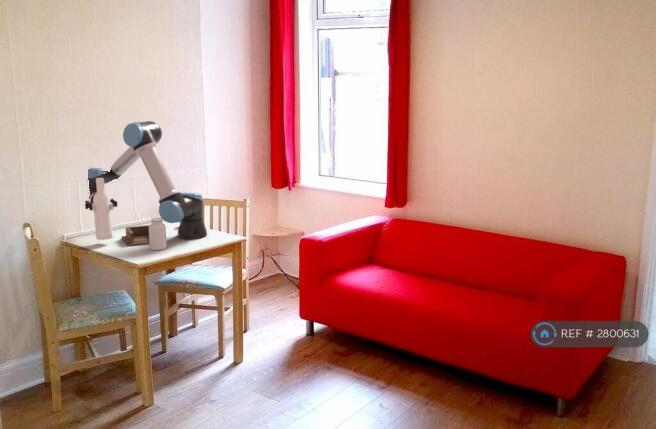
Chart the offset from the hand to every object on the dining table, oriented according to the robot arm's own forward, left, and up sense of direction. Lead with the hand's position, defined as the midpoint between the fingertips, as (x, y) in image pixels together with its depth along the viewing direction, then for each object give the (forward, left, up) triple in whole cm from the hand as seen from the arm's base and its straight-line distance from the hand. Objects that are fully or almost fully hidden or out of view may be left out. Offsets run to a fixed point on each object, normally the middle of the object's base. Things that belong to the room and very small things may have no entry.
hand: (103, 208), depth 294 cm
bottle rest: (-10, -17, -19) cm, 27 cm away
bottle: (+3, -4, -16) cm, 17 cm away
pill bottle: (-26, -6, -20) cm, 33 cm away
